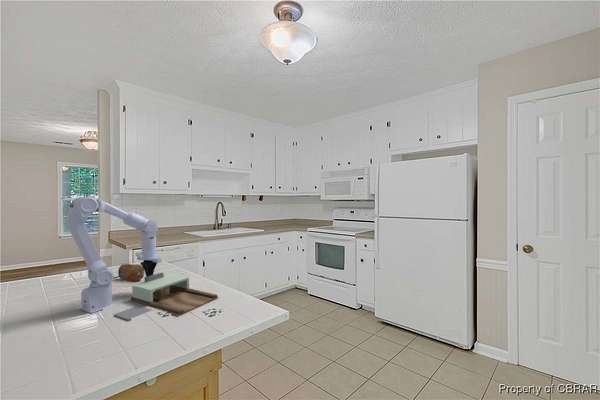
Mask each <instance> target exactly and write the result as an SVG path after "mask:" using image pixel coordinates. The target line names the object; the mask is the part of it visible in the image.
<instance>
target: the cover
mask: <svg viewBox="0 0 600 400" xmlns="http://www.w3.org/2000/svg"><path fill="white" fill-rule="evenodd" d="M143 278H144V280H143V282H139V283H136V284H132V287H131V288H132V290H131V291H132V293H131V294H132V296H131V297H134V298H137V299H141V300H144V301H148V302H153V292H155V290H158V289H161V288H164V287H167V286H170V285H173V286H178V287H182V288H186V289H188V288H189V289H190V277H189V276H184V275H179V274H174V273H169V274H167V275H164V272H157V273H156V274H154V273H153V275H151V276H147V277H146V276H143Z"/></svg>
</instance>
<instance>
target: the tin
mask: <svg viewBox="0 0 600 400" xmlns="http://www.w3.org/2000/svg"><path fill="white" fill-rule="evenodd" d="M117 274H118V277H119V279H120V280H121V281H125V280H126V281H127V282H138V281H141V280H142V279H143V278H144V277H145V271H144V268H143V267H142V265H141V264H135V263H123V264H121V265H120V266H119V268H118V272H117Z"/></svg>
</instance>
